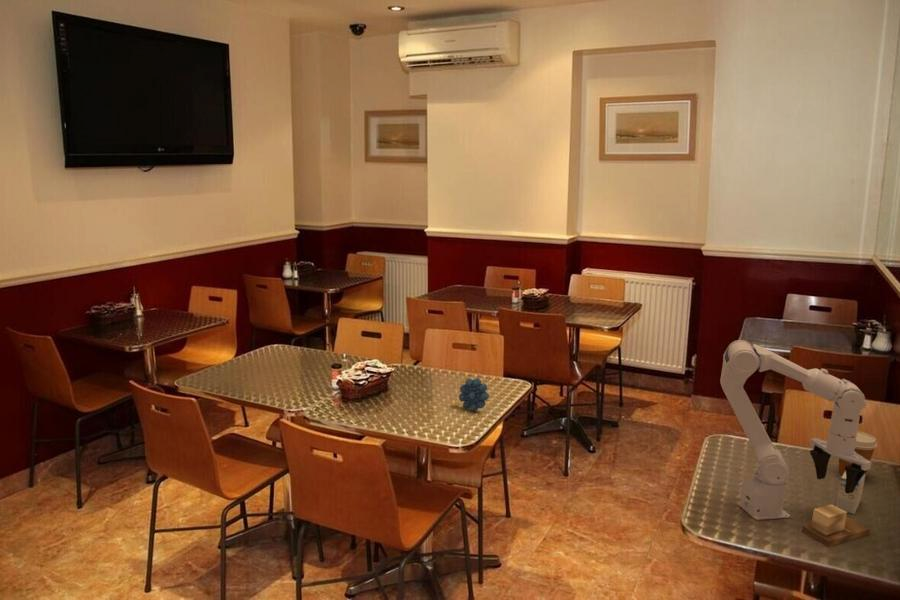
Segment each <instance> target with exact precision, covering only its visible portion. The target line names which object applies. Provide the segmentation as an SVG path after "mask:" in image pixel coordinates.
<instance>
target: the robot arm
mask: <svg viewBox="0 0 900 600" xmlns="http://www.w3.org/2000/svg"><path fill="white" fill-rule="evenodd" d="M753 346H754V347H753ZM722 360H723V361H722V368H721V373H720V374H721V375H720V379H719V381H720V382H719V383H720V386H721V388H722V390H723V393H724V394H725V396H726V397H725V398H726V399H727V401H728V403H729V405H730V406H731V408H732V410H733V412H734V414H735V416H736V419H738V422H739V423H740V425H741V427H742V430H743V431H744V433H745V435H746V437H747V439H748V441H749V443H750V445H751V447H752V449H753V451H754V453H755V455H756V456H755V460H756V462H757V464H758V466H759V467H758V468H757V469H756V471H755V473H754V475H753V476H751V477H748V478H744V480H743V482H742V484H741V492H740V499H739V500H740V501H738V502H737V504H738V506H739V507H741V508H742V509H743V510H744V511H745V512H746V513H747V514H748V515H750V516H751V517H752V519H754V520H756V521H757V520H760V521H761V520H771V519H772V520H773V519H774V520H775V519H787V518H791V515H790V514H789V513H788V512H786V511H785V509H784V503H785V497H786V495H785V494H786V488H787V481H788V479H789V478H790V474H791V471H790V467H789V466H788V464H787V463H786V461H785V459H784V455H783V453H782V451H781V450H780V449H779V448H777V446H775V445H774V443H773V442H772V440H771V438H770V436H769V435H768V433H767V430H766V429H765V427H764V425H763V423H762V420H761V419H760V417H759V416H758V413H757V412H756V409H755V407H754V405H753V404H752V401H751V400H750V397H749V396H748V394H747V391H745V389H744V385H745V383H746V381H747V380H748V378H750V377H751V376H752V375H753V374H754V373H755V372H756V371H757V370H758V372H759V373H762V372H766V371H770V370H772V371H774V372H776V373H779V374H781V375H783V376H786V377H788V378H791V379H793V380H795V381H798V382H801V385H802V387H803V389H804V390H805V391H807V392H809V393H811V394H814V395H816V396H817V397H820V398H822V399H823V400H826V401H828V402H830V403H831V402H832V403H833V408H832V412H831V417H830V426H829V431H828V437H827V438H828V439H827V440H823V439H822V438H821V439H820V438H818V437H815V438H810V443H809V445H810V446H809V447H811V448H813V449H811V450H809V454H810V456H811V458H812V460H813V464H814V467H815V474H816V479H818V480H823V479H826V476H827V472H828V465H829V461H830V459H831V457H832V456H833V457H835V458H838V459H839V458H840V459H843V460H845V461H847V462H849V463H852V465H849V466H845V470H846V485H845V493H847V494H849V493H853V492H854V489H855V487H856V485H857V483H858V482H859V480H860V479H861V478H862V476H863V475H864V474H865V473H866V474H867V473H868V471H869V470H871V468H872V461H871V460H870V461H869V460H867V459H865V458H864V457H862V456H861V455H859V454H858V453H856V452H855V451H854V450H855V443H856V437H857V431H859V430H858V429H859V423H860V414H861V411H863V410H864V408H865V407H866V406H867V401H866V396H865V394H864V393H863V392H862V390H860V388H859V387H858V386H857V385H856V384H855V383H853V382H851V381H850V380H847V379H845V378H842V379H840V378H838V377H836V376H834V375H831V374H830V373H829V371H828V370H827V369H825V368H822V367H821V369H818V368H811V369H810V368H809V369H807V368H805V367H802V366H801V365H799V364H796V363H795V362H792V361H791V360H788V359H787V358H784V357H783V356H782V355H781V356H780V355H779V354H777V353H775V352H773V351H771V350H770V349H766V348H764V347H762V346H760V345H759V344H755V343H753V345H752V344H751V343H750V342H748V341H747V340H746V339H745V340H744V339H737V340H734V341H732V342H730V344H729V345H728V346H727V348H726V350H725V351H724V353H723V358H722Z"/></svg>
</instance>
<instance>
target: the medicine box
mask: <svg viewBox="0 0 900 600" xmlns="http://www.w3.org/2000/svg"><path fill="white" fill-rule="evenodd" d="M865 478H866V475H865V474H864V475H863V476H862V478H861V479H860V480H859V482H858V483H857V485H856V487H855V489H854V492H853V493H849V494H847V493H845V485H846V470H845V472H844V474H843V475H842V476H840V479H839V485H838V492H837V497H836V501H835V506H836V507H838V508H840V509H842V510H844V511H846V512H847V513H849V514H853V515H855V513H856V512H857V510H858V507H859V505H860V503H861V500H862V494H863V490H864V485H865V480H866V479H865Z"/></svg>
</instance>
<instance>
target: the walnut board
mask: <svg viewBox="0 0 900 600" xmlns="http://www.w3.org/2000/svg"><path fill="white" fill-rule="evenodd" d="M811 525H812V523H809V524H805V525H803V526H802V528H801V529H802V530H801V532H803V534H805V535H807V536H809V537H811V538H812V539H814V540H816V541H817V542H818V543H820V544H822V545H824V546H825V547H827V548H830V547H833V546H837V545H840V544H843V543H847V542H849V541H853V540H856V539H859V538H862V537H863V538H864V537H867V536H869V535H870V533H871V528H869V527H867V526H865V525H864V524H862V523H860V522H858V521H856V520H854V519H853V518H850V517H849V516H847V515H846V521H845V527H844V532H841V533H837V534H834V535H831V536H828V537H825V536H824V535H822V534H820V533H818V532H817V531H815V530H813V529H811Z"/></svg>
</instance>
